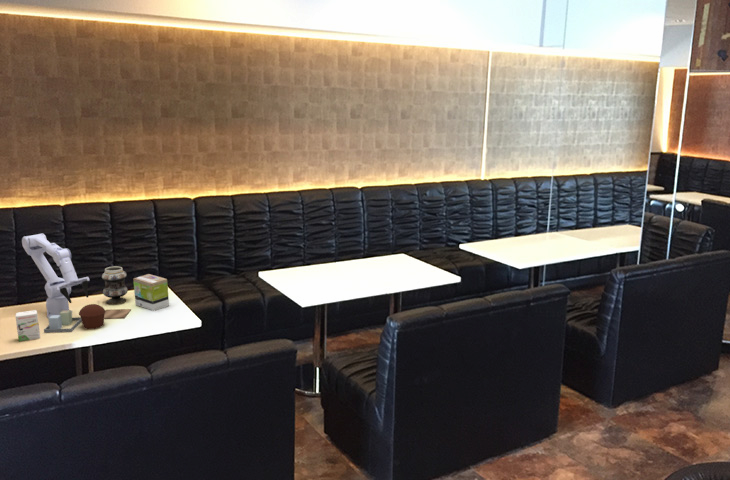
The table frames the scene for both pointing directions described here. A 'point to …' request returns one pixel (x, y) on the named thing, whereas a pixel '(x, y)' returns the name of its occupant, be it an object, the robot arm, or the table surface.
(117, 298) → the apothecary jar
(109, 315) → the walnut board
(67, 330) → the parts tray
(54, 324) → the blue block
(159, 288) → the tea box
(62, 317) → the sage block
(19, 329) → the ink box
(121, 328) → the table surface
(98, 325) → the muffin
